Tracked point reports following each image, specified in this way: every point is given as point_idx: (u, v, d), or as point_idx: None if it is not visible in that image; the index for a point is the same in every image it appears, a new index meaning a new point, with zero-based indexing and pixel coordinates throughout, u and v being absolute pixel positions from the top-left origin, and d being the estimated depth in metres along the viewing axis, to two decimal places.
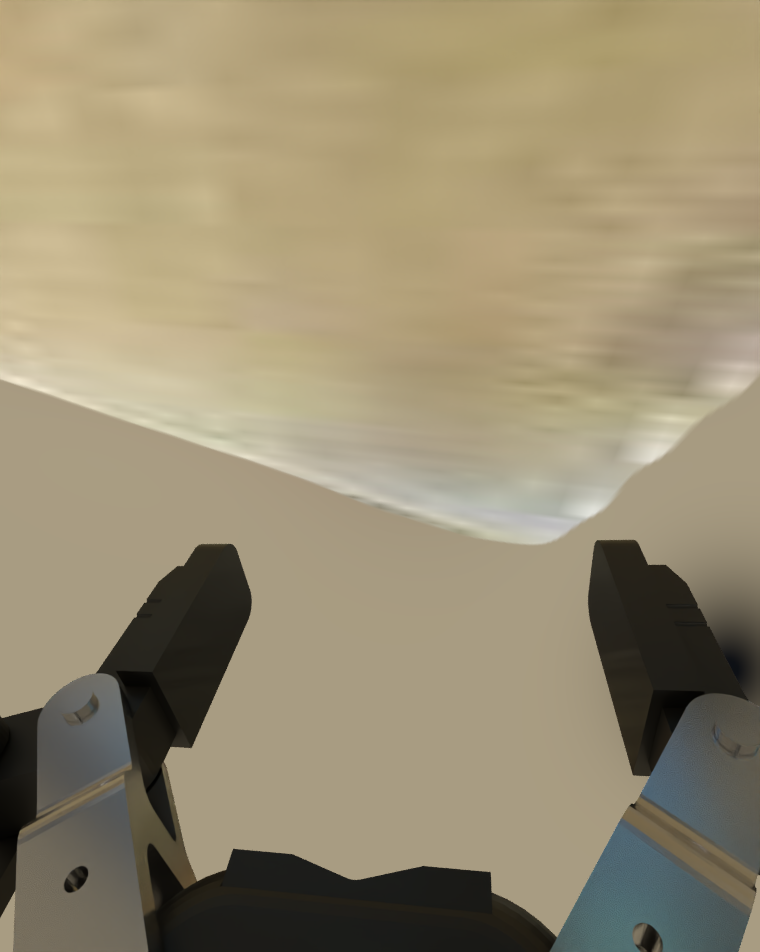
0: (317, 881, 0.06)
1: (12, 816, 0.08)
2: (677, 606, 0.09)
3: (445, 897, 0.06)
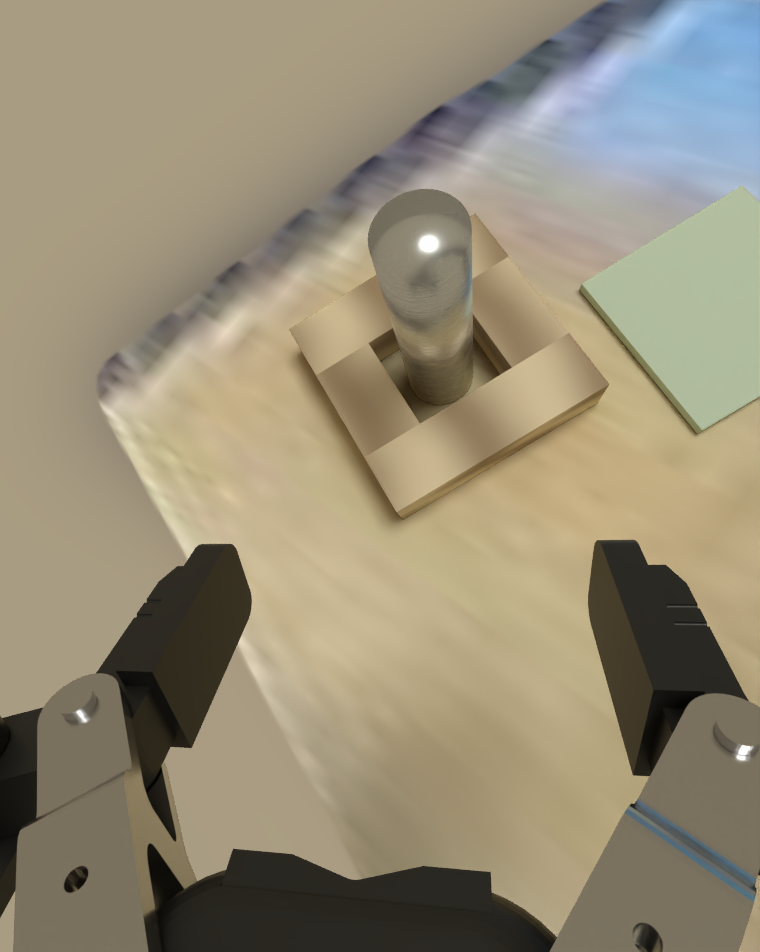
0: (317, 882, 0.06)
1: (12, 815, 0.08)
2: (677, 606, 0.09)
3: (446, 896, 0.06)
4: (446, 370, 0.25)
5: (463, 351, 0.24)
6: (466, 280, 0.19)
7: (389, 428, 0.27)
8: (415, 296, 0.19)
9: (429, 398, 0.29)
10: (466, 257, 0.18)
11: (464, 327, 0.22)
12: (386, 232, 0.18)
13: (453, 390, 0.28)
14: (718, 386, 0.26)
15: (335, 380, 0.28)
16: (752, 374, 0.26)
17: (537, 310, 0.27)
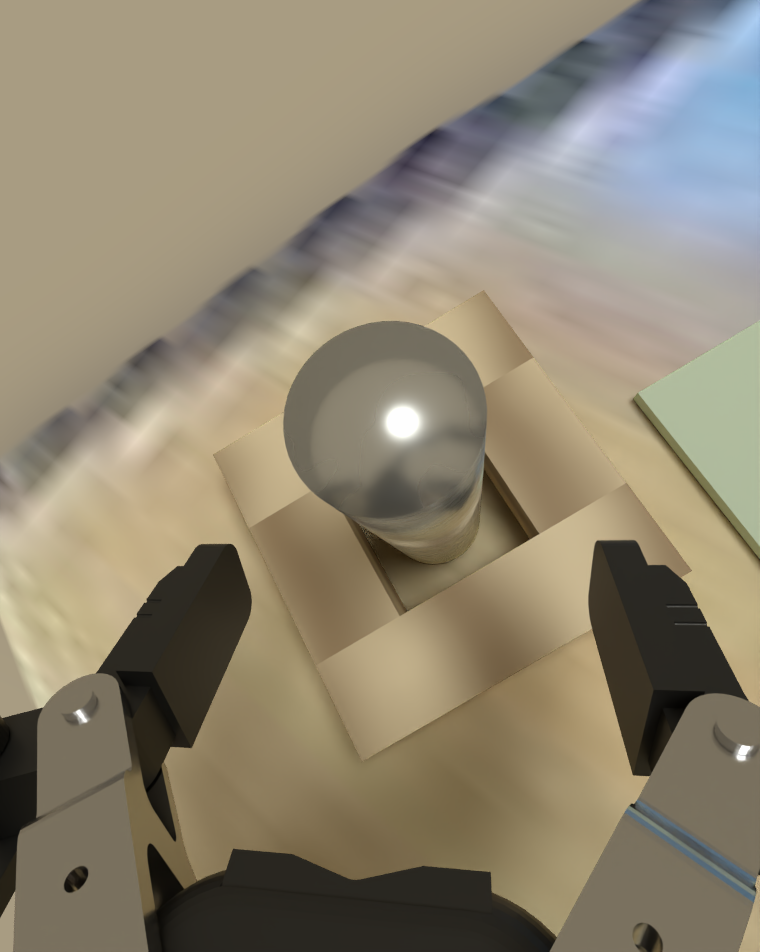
0: (317, 881, 0.06)
1: (12, 815, 0.08)
2: (677, 606, 0.09)
3: (445, 895, 0.06)
4: (439, 552, 0.16)
5: (467, 530, 0.15)
6: (474, 482, 0.10)
7: (354, 621, 0.18)
8: (377, 525, 0.10)
9: (415, 559, 0.20)
10: (476, 464, 0.09)
11: (468, 517, 0.13)
12: (319, 407, 0.09)
13: (450, 556, 0.19)
14: None
15: (276, 538, 0.19)
16: None
17: (577, 444, 0.18)
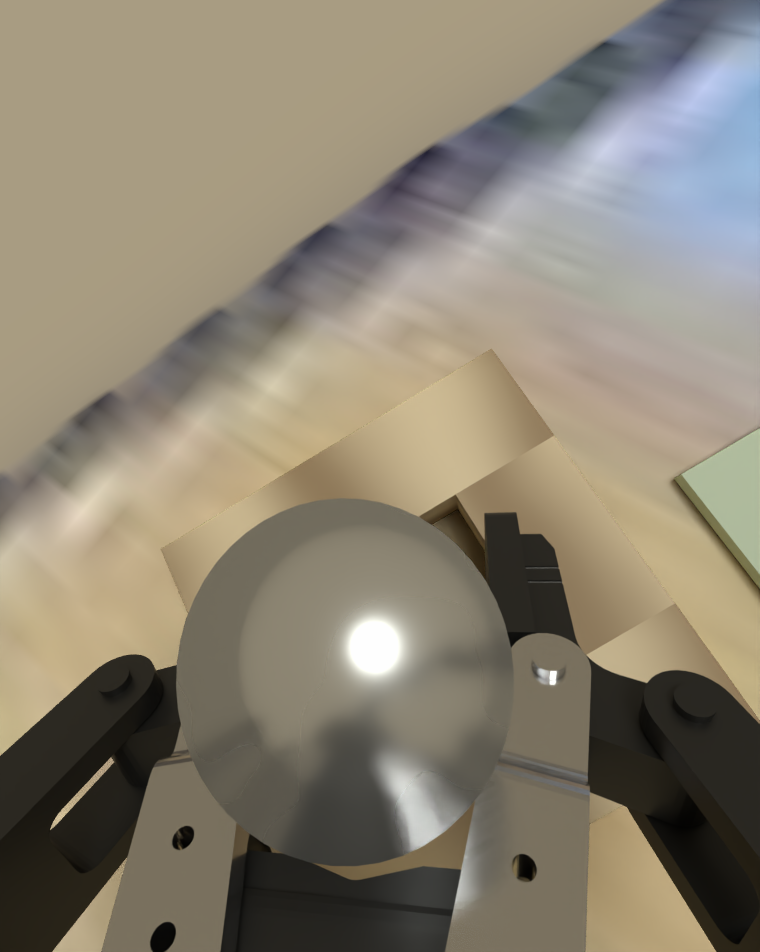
0: (317, 881, 0.06)
1: None
2: (542, 568, 0.11)
3: (446, 896, 0.06)
4: None
5: None
6: None
7: None
8: None
9: None
10: None
11: None
12: (234, 645, 0.06)
13: None
14: None
15: None
16: None
17: (611, 549, 0.14)
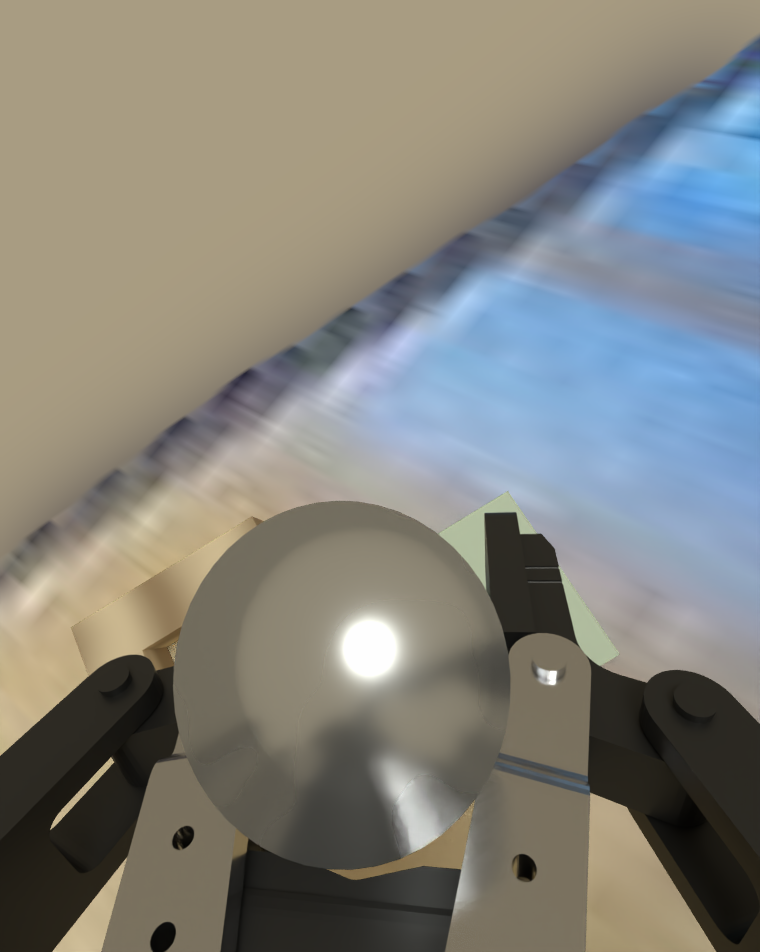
0: (317, 882, 0.06)
1: None
2: (542, 568, 0.11)
3: (446, 896, 0.06)
4: None
5: None
6: None
7: None
8: None
9: None
10: None
11: None
12: (231, 647, 0.06)
13: None
14: None
15: None
16: None
17: None
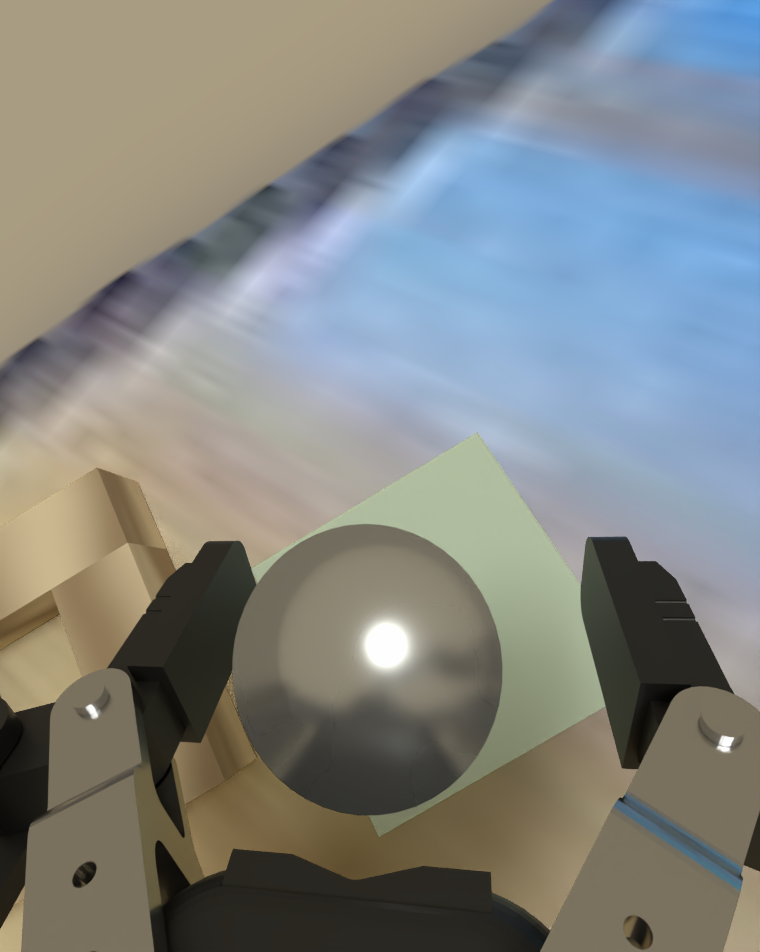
0: (317, 882, 0.06)
1: (24, 810, 0.08)
2: (666, 602, 0.09)
3: (445, 896, 0.06)
4: None
5: None
6: None
7: None
8: None
9: None
10: None
11: None
12: (279, 642, 0.07)
13: None
14: None
15: None
16: None
17: None
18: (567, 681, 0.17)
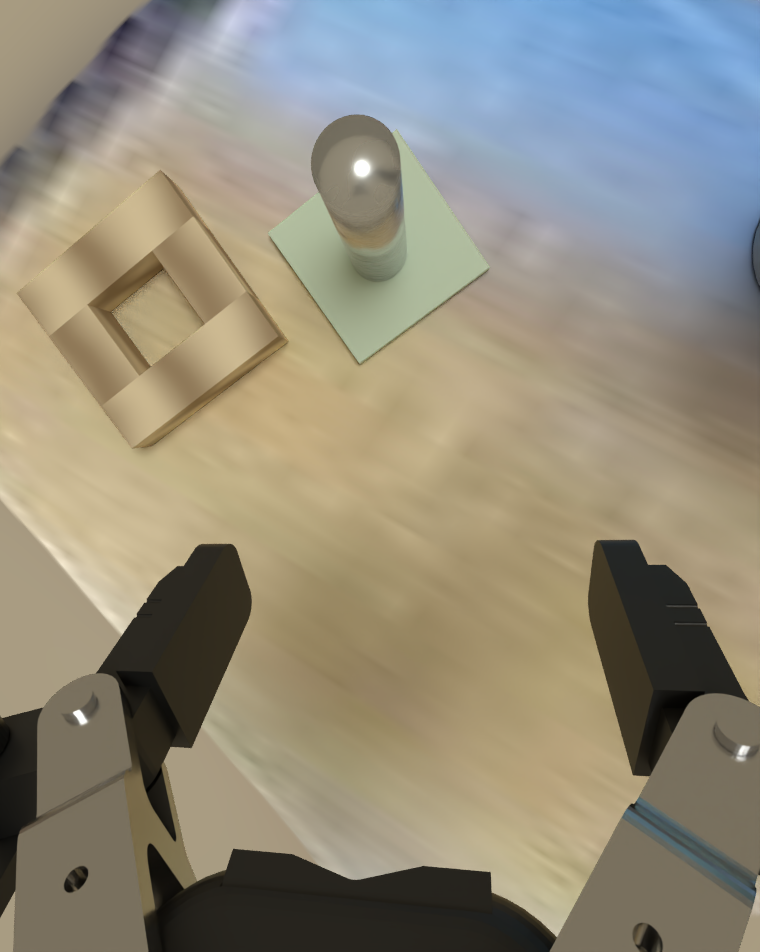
0: (317, 882, 0.06)
1: (12, 815, 0.08)
2: (677, 606, 0.09)
3: (446, 896, 0.06)
4: (384, 260, 0.29)
5: (398, 243, 0.28)
6: (398, 197, 0.23)
7: (116, 381, 0.33)
8: (357, 219, 0.22)
9: (369, 277, 0.32)
10: (397, 184, 0.21)
11: (397, 227, 0.26)
12: (327, 161, 0.21)
13: (390, 271, 0.31)
14: (372, 326, 0.34)
15: (66, 340, 0.33)
16: (396, 315, 0.33)
17: (220, 270, 0.32)
18: (450, 272, 0.33)
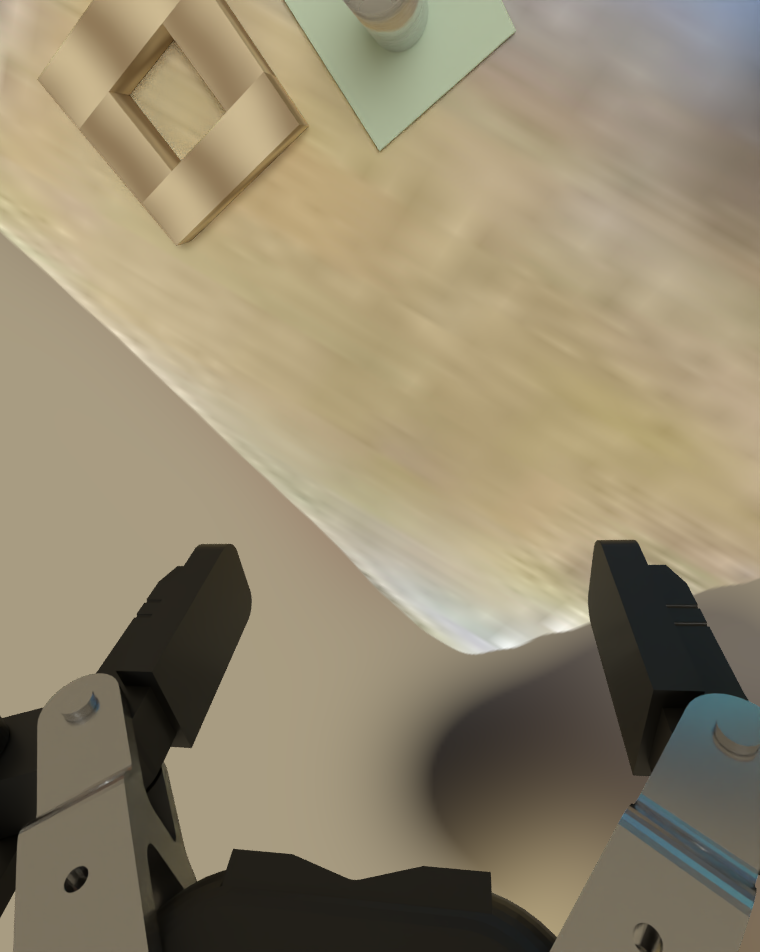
0: (317, 881, 0.06)
1: (12, 815, 0.08)
2: (677, 606, 0.09)
3: (446, 896, 0.06)
4: (402, 37, 0.28)
5: (417, 18, 0.27)
6: None
7: (151, 177, 0.35)
8: (373, 17, 0.23)
9: (388, 49, 0.31)
10: None
11: (415, 7, 0.25)
12: None
13: (410, 42, 0.30)
14: (391, 107, 0.33)
15: (96, 133, 0.34)
16: (415, 93, 0.33)
17: (235, 46, 0.31)
18: (473, 38, 0.31)
